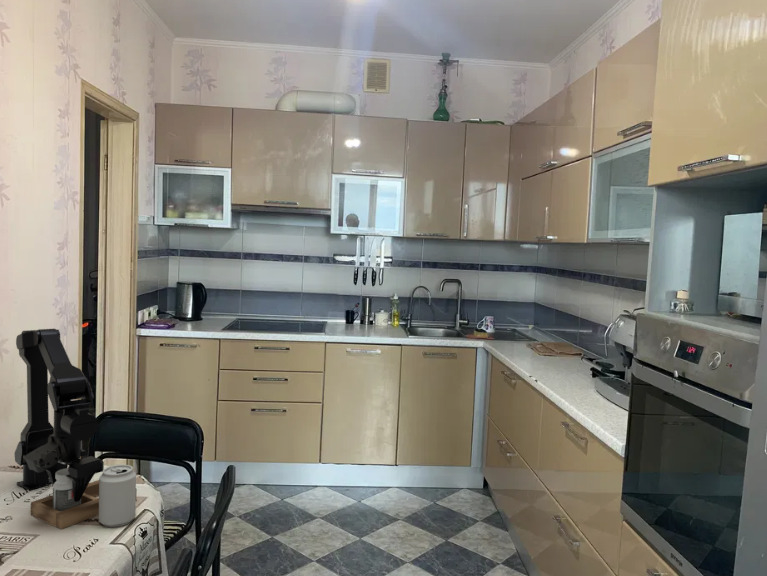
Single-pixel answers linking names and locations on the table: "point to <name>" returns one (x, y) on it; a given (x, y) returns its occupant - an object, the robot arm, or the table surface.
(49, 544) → the table surface
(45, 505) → the wooden divided tray
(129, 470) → the can
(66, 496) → the pill bottle
